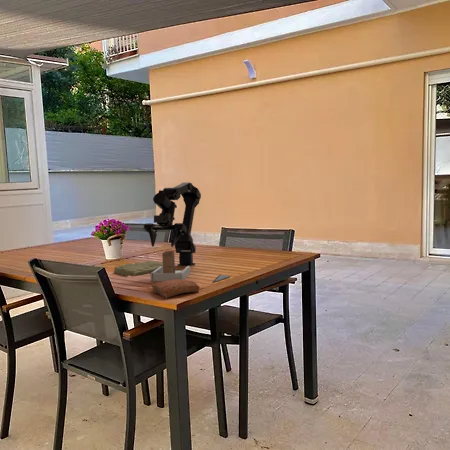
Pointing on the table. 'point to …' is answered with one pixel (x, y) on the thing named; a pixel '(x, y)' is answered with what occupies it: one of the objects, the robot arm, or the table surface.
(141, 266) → the decorative tile
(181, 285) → the ceramic shard
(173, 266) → the brown rectangular block
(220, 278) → the mat
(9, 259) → the table surface
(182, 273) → the rack
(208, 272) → the table surface
